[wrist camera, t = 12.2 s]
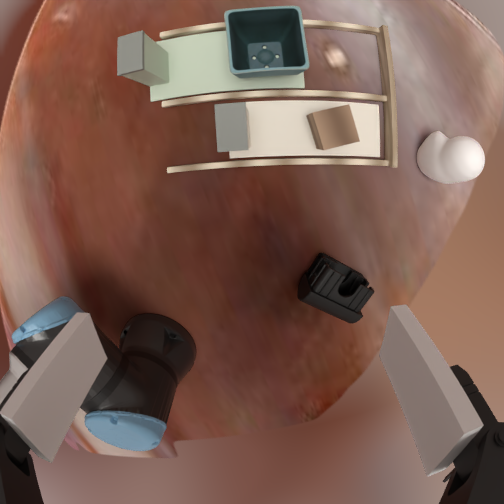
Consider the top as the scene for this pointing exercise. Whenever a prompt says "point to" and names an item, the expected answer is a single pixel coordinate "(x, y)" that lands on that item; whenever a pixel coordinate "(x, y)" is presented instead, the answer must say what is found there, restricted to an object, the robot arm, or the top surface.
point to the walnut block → (333, 127)
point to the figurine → (450, 158)
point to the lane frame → (386, 98)
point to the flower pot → (266, 41)
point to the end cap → (335, 289)
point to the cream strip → (289, 129)
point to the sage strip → (188, 66)
